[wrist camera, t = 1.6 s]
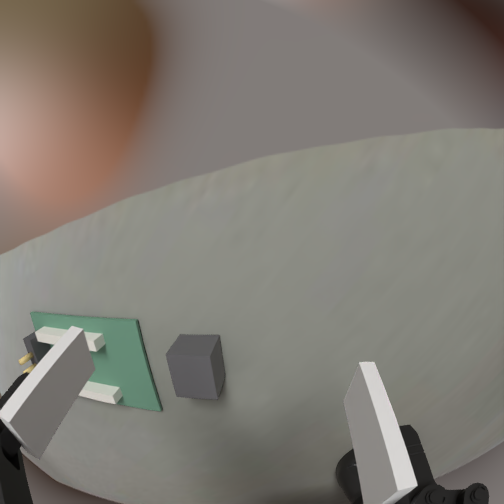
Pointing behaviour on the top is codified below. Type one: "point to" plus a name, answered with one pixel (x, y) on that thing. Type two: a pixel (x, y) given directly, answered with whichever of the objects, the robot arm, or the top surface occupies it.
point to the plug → (196, 366)
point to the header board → (101, 357)
